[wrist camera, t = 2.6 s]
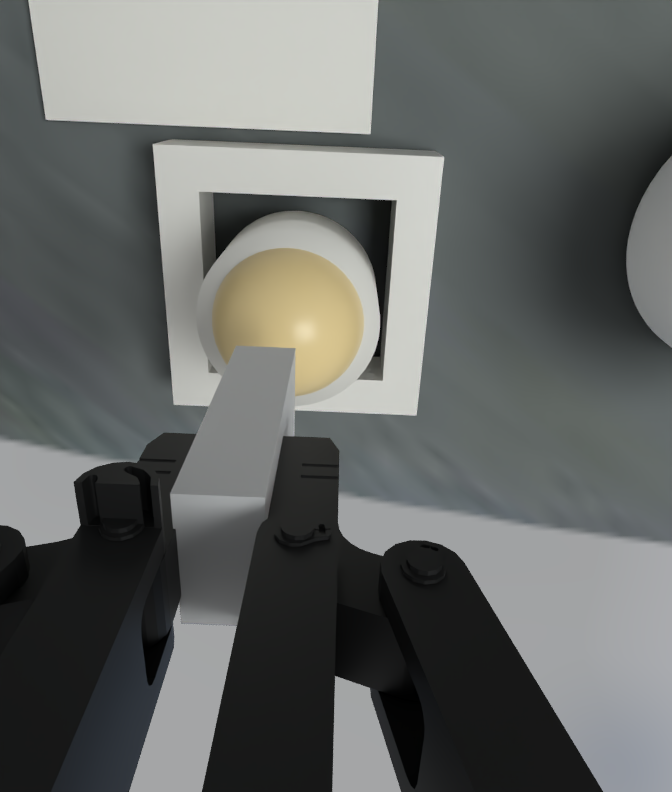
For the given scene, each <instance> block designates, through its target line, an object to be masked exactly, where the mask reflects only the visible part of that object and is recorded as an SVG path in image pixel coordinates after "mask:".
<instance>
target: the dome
mask: <svg viewBox="0 0 672 792" xmlns="http://www.w3.org/2000/svg"><path fill="white" fill-rule="evenodd" d="M196 322H197V330H198V334H199V338H200V342H201V345H202V347H203V349H204V352H205V354H206V356H207V357H208V359H209V361H210V363H211V364H212V365H213V367H214V368H215V369H216V371H217V372H218V373H219V374H220V375H221V376H223V374H224V371H225V369H226V367H227V365H228V362H229V360H230V358H231V356H232V353H233V351H234V349H235V347H236V346H256V347H280V348H296V350H295V406H302V405H310V404H314V403H318V402H321V401H324V400H326V399H329V398H331V397H333V396H335V395H337V394H339V393H341V392H342V391H343V390H345V389H346V388H348V387H349V386H350V385H351V384H352V383H353V382H355V381H356V380H357V379H358V378H359V376H360V375H361V374H362V373H363V372H364V370H365V369H366V367H367V366H368V364H369V362H370V361H371V359H372V356H373V354H374V352H375V349H376V346H377V342H378V339H379V332H380V312H379V305H378V297H377V289H376V281H375V275H374V271H373V267H372V264H371V262H370V260H369V257H368V255H367V253H366V252H365V250H364V248H363V247H362V245H361V244H360V243H359V242H358V240H357V239H356V238H355V237H354V236H353V235H352V234H351V233H350V232H349V231H348V230H347V229H345V228H344V227H343V226H341V225H340V224H339V223H337V222H335V221H333V220H331V219H330V218H327V217H325V216H322V215H319V214H316V213H312V212H306V211H282V212H276V213H273V214H269V215H266V216H264V217H262V218H259V219H257V220H255V221H254V222H252V223H251V224H249V225H248V226H246V227H245V228H244V229H243V230H242V231H240V232H239V233H238V234H237V236H236V237H235V238H234V239H233V240H232V241H231V243H230V244H229V245H228V246H227V248H226V249H225V250H224V252H223V253H222V254H221V255H220V257H219V258H218V259H217V260H216V262H215V263H214V264H213V266H212V267H211V269H210V270H209V272H208V273H207V275H206V277H205V279H204V281H203V283H202V285H201V289H200V292H199V295H198V300H197V307H196Z"/></svg>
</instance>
